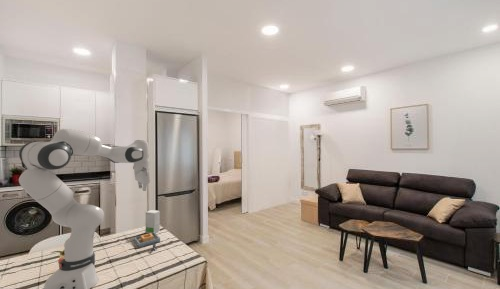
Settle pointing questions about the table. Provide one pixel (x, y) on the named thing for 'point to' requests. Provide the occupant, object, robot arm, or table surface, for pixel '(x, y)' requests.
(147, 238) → the orange hollow block
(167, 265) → the table surface
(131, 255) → the table surface
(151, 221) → the skincare box
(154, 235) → the tray
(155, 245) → the stake
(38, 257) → the table surface
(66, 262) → the robot arm
